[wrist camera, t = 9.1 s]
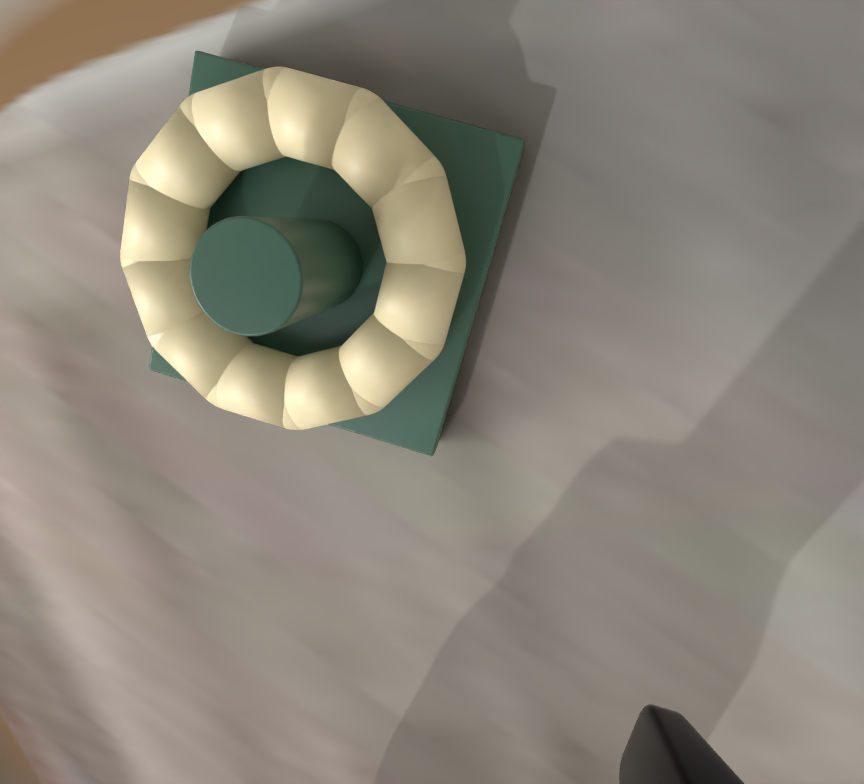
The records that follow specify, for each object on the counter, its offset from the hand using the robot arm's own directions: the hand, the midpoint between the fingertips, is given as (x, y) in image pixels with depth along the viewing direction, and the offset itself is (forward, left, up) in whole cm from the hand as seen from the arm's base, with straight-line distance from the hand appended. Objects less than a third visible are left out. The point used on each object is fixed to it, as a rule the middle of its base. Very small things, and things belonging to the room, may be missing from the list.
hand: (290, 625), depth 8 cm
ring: (+3, +4, -10) cm, 11 cm away
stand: (+3, +4, -12) cm, 13 cm away
